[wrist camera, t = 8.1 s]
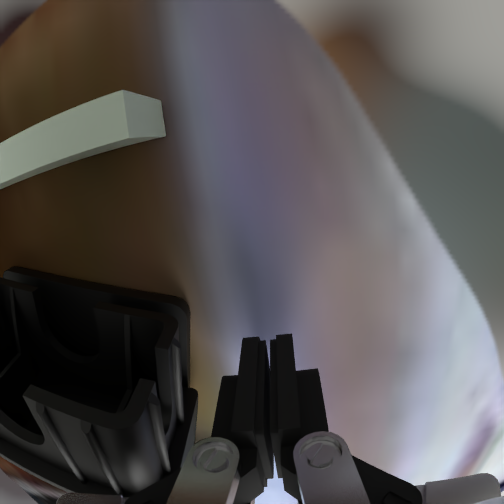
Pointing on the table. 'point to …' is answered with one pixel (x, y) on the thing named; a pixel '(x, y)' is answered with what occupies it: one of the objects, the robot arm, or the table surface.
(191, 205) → the table surface
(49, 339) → the end cap
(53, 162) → the holder
